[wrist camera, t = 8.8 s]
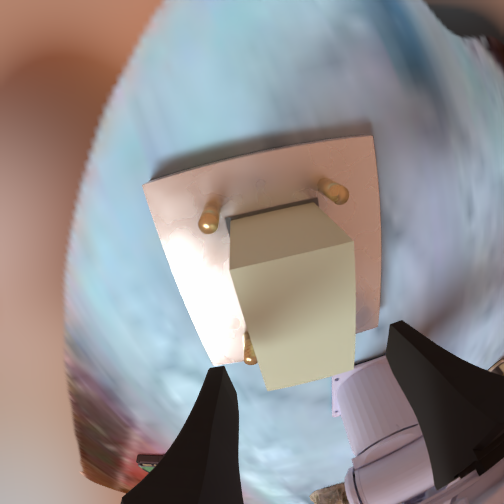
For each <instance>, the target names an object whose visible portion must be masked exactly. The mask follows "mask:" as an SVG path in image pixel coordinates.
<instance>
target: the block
mask: <svg viewBox="0 0 504 504" xmlns="http://www.w3.org/2000/svg"><path fill="white" fill-rule="evenodd" d="M229 271H230V274H231V278H232V281H233V284H234V288H235V291H236V294H237V297H238V301H239V304H240V307H241V310H242V314H243V317H244V320H245V323H246V326H247V330H248V333H249V336H250V339H251V342H252V345H253V348H254V352H255V355H256V358H257V361H258V364H259V367H260V370H261V373H262V376H263V379H264V382H265V385H266V388H267V391H271V390H276V389H281V388H286V387H290V386H295V385H299V384H303V383H307V382H311V381H315V380H319V379H323V378H327V377H330V376H334V375H337V374H341V373H344V372H347V371H350V370H354V357H355V331H356V282H355V255H354V241H353V240H352V239H351V238H350V237H349V236H348V235H347V234H346V233H345V232H344V231H343V230H342V229H341V228H340V227H339V226H338V225H337V224H336V223H335V222H334V221H333V220H332V219H331V218H330V217H329V216H328V215H327V214H326V213H325V212H324V211H322V210H321V209H320V208H319V207H318V206H317V205H316V204H315V203H314V202H312V203H307V204H303V205H298V206H293V207H289V208H284V209H280V210H275V211H271V212H266V213H262V214H257V215H253V216H249V217H244V218H240V219H236V220H232V221H231V222H230V259H229Z"/></svg>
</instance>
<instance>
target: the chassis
mask: <svg viewBox="0 0 504 504" xmlns="http://www.w3.org/2000/svg"><path fill="white" fill-rule="evenodd" d="M142 187H143V190H144V193H145V196H146V199H147V202H148V205H149V208H150V211H151V214H152V217H153V220H154V223H155V226H156V229H157V232H158V235H159V237H160V240H161V243H162V246H163V248H164V251H165V254H166V257H167V259H168V262H169V264H170V267H171V270H172V272H173V275H174V277H175V280H176V282H177V285H178V287H179V290H180V292H181V295H182V297H183V299H184V302H185V304H186V306H187V309H188V311H189V313H190V316H191V318H192V320H193V323H194V325H195V327H196V329H197V332H198V334H199V336H200V338H201V340H202V342H203V345H204V347H205V349H206V351H207V353H208V355H209V357H210V359H211V361H212V364H213V366H217V365H223V364H229V363H235V362H241V361H244V362H245V363H246V364H248V365H254V364H256V363H258V361H257V358H256V355H255V352H254V348H253V345H252V342H251V339H250V336H249V333H248V330H247V326H246V323H245V320H244V317H243V314H242V310H241V307H240V304H239V301H238V297H237V294H236V291H235V288H234V284H233V281H232V278H231V274H230V271H229V259H230V222H231V221H232V220H236V219H240V218H244V217H249V216H253V215H257V214H262V213H266V212H271V211H275V210H280V209H284V208H289V207H293V206H298V205H303V204H307V203H312V202H314V203H315V204H316V205H317V206H318V207H319V208H320V209H321V210H322V211H324V212H325V213H326V214H327V215H328V216H329V217H330V218H331V219H332V220H333V221H334V222H335V223H336V224H337V225H338V226H339V227H340V228H341V229H342V230H343V231H344V232H345V233H346V234H347V235H348V236H349V237H350V238H351V239H352V240H353V241H354V255H355V282H356V331H355V334H357V333H360V332H363V331H366V330H369V329H373V328H376V327H378V320H379V307H380V288H381V219H380V200H379V187H378V176H377V166H376V157H375V149H374V142H373V136H370V135H356V136H348V137H340V138H332V139H325V140H319V141H312V142H306V143H300V144H294V145H289V146H283V147H278V148H273V149H268V150H263V151H258V152H254V153H249V154H245V155H240V156H236V157H232V158H228V159H224V160H220V161H216V162H212V163H208V164H204V165H200V166H197V167H193V168H190V169H186V170H183V171H179V172H176V173H172V174H169V175H166V176H163V177H159V178H156V179H153V180H150V181H148V182H147V183H145V184H143V185H142Z"/></svg>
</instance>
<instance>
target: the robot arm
mask: <svg viewBox="0 0 504 504" xmlns="http://www.w3.org/2000/svg"><path fill="white" fill-rule="evenodd" d="M332 416H333V417H337V416H341V418H342V421H343V424H344V427H345V430H346V433H347V436H348V440H349V443H350V446H351V449H352V451H353V453H354V455H355V456H356V457H355V458H353V459H352V463H353V467H351V468H349V469H348V472H347V474H346V476H345V491H346V495H347V498H348V501H349V504H504V376H503V375H499V374H496V373H493V372H490V371H487V370H485V369H482V368H479V367H477V366H475V365H473V364H471V363H468V362H466V361H464V360H462V359H460V358H459V357H457V356H455V355H453V354H452V353H450V352H448V351H447V350H445V349H443V348H442V347H440V346H439V345H437V344H436V343H434V342H433V341H431V340H430V339H428V338H427V337H425V336H424V335H422V334H421V333H419V332H418V331H417V330H415V329H414V328H412V327H411V326H410V325H408V324H407V323H405V322H404V321H402V320H401V321H398V322H395V323H393V324H390V329H389V336H388V343H387V349H386V355H385V356H382V357H379V358H376V359H374V360H371V361H368V362H365V363H362V364H359V365H355V366H354V370H350V371H347V372H344V373H341V374H337V375H334V376H332ZM238 440H239V410H238V400H237V393H236V391H235V388H234V386H233V384H232V382H231V380H230V378H229V376H228V373H227V371H226V369H225V367H224V366H220V367H213V368H210V369H209V370H208V372H207V375H206V378H205V381H204V383H203V386H202V388H201V391H200V393H199V395H198V398H197V400H196V402H195V404H194V406H193V409H192V411H191V413H190V415H189V417H188V418H187V420H186V422H185V424H184V426H183V428H182V430H181V431H180V433H179V435H178V436H177V438H176V439H175V441H174V442H173V444H172V445H171V447H170V448H169V450H168V451H167V452H166V454H165V455H164V456H163V458H162V459H161V460H160V461H159V462H158V464H157V465H156V466H155V467H154V468H153V469H152V470H151V471H150V472H149V473H148V475H147V476H146V477H145V478H144V479H143V480H142V481H141V482H140V483H138V484H137V485H136V486H135V487H134V488H133V489H131V490H130V491H129V492H128V493H127V494H126V495H124V496H123V497H122V501H121V504H244V503H243V497H242V490H241V482H240V473H239V463H238Z"/></svg>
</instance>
